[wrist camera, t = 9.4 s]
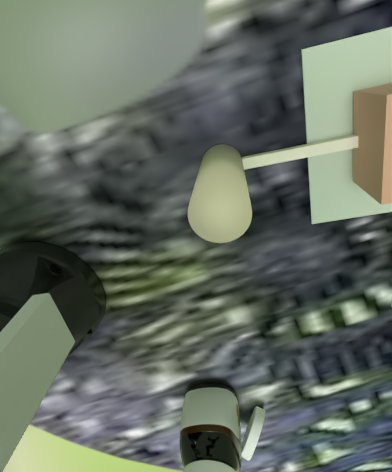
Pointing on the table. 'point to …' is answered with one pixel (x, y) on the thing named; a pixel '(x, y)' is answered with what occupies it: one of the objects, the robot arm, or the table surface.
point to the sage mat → (340, 118)
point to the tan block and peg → (232, 165)
